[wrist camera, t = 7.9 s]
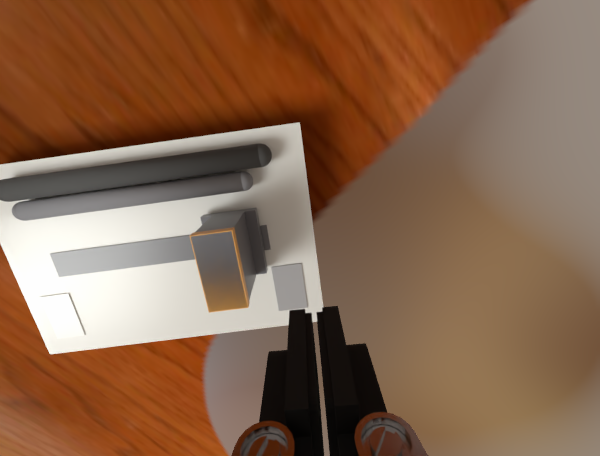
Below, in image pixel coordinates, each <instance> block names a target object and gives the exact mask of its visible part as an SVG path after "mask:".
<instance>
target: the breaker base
mask: <svg viewBox="0 0 600 456" xmlns="http://www.w3.org/2000/svg"><path fill="white" fill-rule="evenodd" d="M249 208H257V212H258V218H259V223H260V229H261V234H262V240H263V246H264V251H265V257H266V262H267V268H268V270H267V273H265V274H257V275H256V278H255V282H254V285H253V289H252V292H251V296H250V300H249V301H250V303H249V307H248V308H242V309H234V310H226V311H218V312H210V313H209V311H208V307H207V303H206V299H205V295H204V291H203V288H202V284H201V280H200V276H199V272H198V268H197V264H196V260H195V256H194V252H193V248H192V244H191V240H190V235H191V234H192V233H194V232H196V231H197V230H198V229H199V228H200V227H201V226H202V222H201V218H200V217H201V216H203V215H205V214H212V213H219V212H227V211H234V210H242V209H249ZM0 244H1V246H2V248H3V251H4V253H5V255H6V257H7V260H8V262H9V264H10V266H11V269H12V271H13V273H14V275H15V277H16V280H17V282H18V284H19V286H20V289H21V291H22V293H23V295H24V298H25V300H26V302H27V304H28V307H29V309H30V311H31V313H32V315H33V318H34V320H35V322H36V324H37V327H38V329H39V331H40V333H41V336H42V338H43V340H44V342H45V344H46V347H47V349H48V351H49V353H50V354H57V353H65V352H73V351H81V350H89V349H97V348H106V347H114V346H122V345H130V344H138V343H146V342H154V341H162V340H171V339H179V338H187V337H195V336H203V335H211V334H219V333H227V332H235V331H244V330H251V329H260V328H268V327H275V326H284V325H289V311H290V310H298V309H305V312H306V313H312V322H317V313H316V312H322V307H323V301H322V292H321V285H320V277H319V269H318V261H317V254H316V246H315V238H314V229H313V222H312V214H311V206H310V198H309V190H308V182H307V174H306V166H305V159H304V151H303V143H302V135H301V127H300V122H298V123H291V124H284V125H277V126H270V127H263V128H256V129H249V130H242V131H235V132H228V133H221V134H214V135H206V136H199V137H192V138H185V139H178V140H171V141H164V142H157V143H150V144H143V145H136V146H129V147H121V148H114V149H107V150H100V151H93V152H86V153H79V154H72V155H65V156H58V157H51V158H44V159H37V160H29V161H22V162H15V163H8V164H1V165H0Z"/></svg>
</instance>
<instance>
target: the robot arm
mask: <svg viewBox="0 0 600 456" xmlns="http://www.w3.org/2000/svg"><path fill="white" fill-rule="evenodd" d="M316 313H317V324H318V334H319V345H320V355H321V366H322V376H323V387H324V396H325V407H326V418H327V429H328V439H329V450H330V456H428V455H427V453H426V451H425V449H424V448H423V446H422V444H421V442H420V440H419V439H418V437H417V435H416V433H415V432H414V430H413V429H412V427H411V426H410V425H409V424H408V423H407V422H406V421H404V420H403V419H402V418H400V417H398V416H396V415H394V414H390V413H387V410H386V407H385V404H384V400H383V397H382V394H381V391H380V387H379V384H378V381H377V378H376V374H375V371H374V368H373V365H372V362H371V358H370V355H369V352H368V349H367V346H366V344H353V345H346V342H345V338H344V333H343V329H342V324H341V320H340V315H339V310H338V306H332V307H322V312H316ZM232 456H324V449H323V436H322V422H321V409H320V397H319V384H318V373H317V363H316V353H315V343H314V333H313V323H312V313H306V312H305V309H298V310H290V311H289V328H288V349H287V350H282V351H271V352H269V354H268V360H267V368H266V375H265V383H264V391H263V397H262V405H261V412H260V420H259V423H257V424H254V425H252V426H251V427H250V428H248V429H247V430H245V432H244V433H243V434H242V435H241V436H240V437H239V439H238V441H237V443H236V445H235V447H234V450H233V453H232Z"/></svg>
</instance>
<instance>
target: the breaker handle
mask: <svg viewBox="0 0 600 456" xmlns="http://www.w3.org/2000/svg"><path fill="white" fill-rule="evenodd" d="M200 218H201V222H202V226H201V227H200V228H199V229H198V230H197V231H196V232H194V233H192V234H191V235H190V240H191V244H192V248H193V252H194V256H195V260H196V264H197V268H198V272H199V276H200V280H201V284H202V288H203V291H204V295H205V299H206V303H207V307H208V311H209V313H210V312H218V311H226V310H234V309H242V308H248V307H249V303H250V301H249V300H250V296H251V292H252V289H253V285H254V282H255V278H256V275H257V274H265V273H267V270H268V268H267V262H266V257H265V251H264V246H263V240H262V234H261V229H260V223H259V218H258V212H257V208H249V209H242V210H234V211H227V212H219V213H212V214H205V215H203V216H201V217H200Z"/></svg>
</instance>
